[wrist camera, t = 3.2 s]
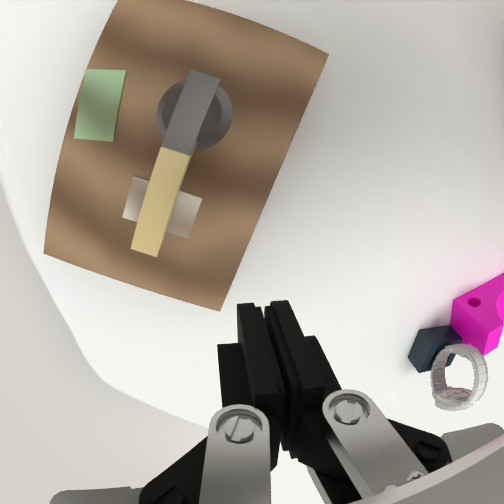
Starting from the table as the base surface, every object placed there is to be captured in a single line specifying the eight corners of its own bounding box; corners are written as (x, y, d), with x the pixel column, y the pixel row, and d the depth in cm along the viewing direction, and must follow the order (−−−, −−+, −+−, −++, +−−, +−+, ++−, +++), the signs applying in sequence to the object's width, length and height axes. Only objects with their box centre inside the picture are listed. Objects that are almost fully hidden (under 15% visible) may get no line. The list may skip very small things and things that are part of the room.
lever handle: (182, 74, 18) (176, 64, 15) (232, 91, 19) (235, 84, 16) (130, 226, 22) (117, 245, 19) (175, 241, 23) (169, 262, 20)
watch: (402, 368, 35) (441, 429, 25) (423, 317, 32) (476, 377, 22) (433, 362, 36) (473, 416, 26) (455, 313, 33) (506, 366, 23)
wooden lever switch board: (130, -3, 17) (123, -13, 15) (320, 59, 21) (330, 53, 19) (53, 244, 24) (42, 254, 22) (219, 299, 28) (220, 313, 26)
